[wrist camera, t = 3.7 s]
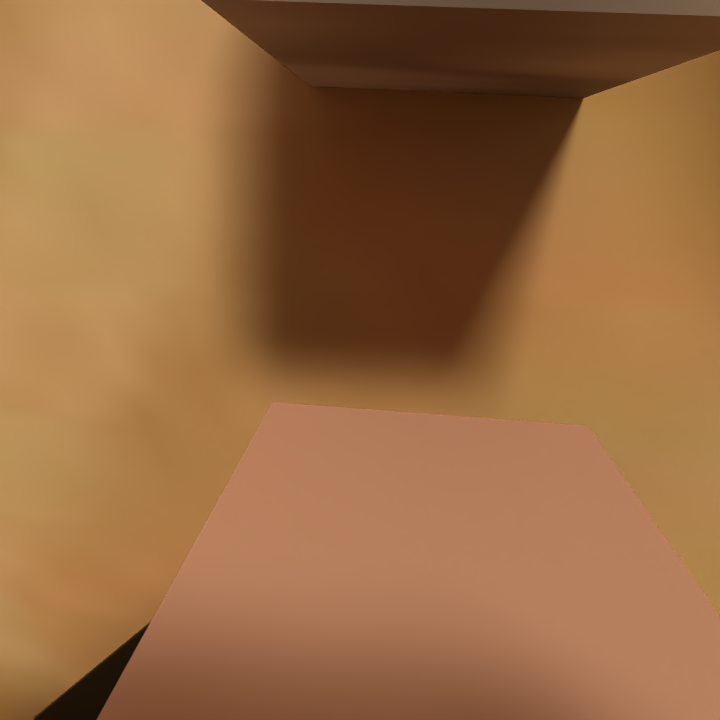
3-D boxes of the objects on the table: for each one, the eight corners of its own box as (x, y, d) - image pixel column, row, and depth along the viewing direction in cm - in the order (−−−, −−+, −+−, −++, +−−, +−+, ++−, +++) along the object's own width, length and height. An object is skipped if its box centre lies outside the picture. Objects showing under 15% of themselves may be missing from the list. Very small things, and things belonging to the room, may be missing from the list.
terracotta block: (587, 425, 9) (924, 911, 3) (538, 665, 10) (695, 1264, 5) (272, 401, 9) (48, 804, 3) (274, 639, 11) (128, 1174, 5)
